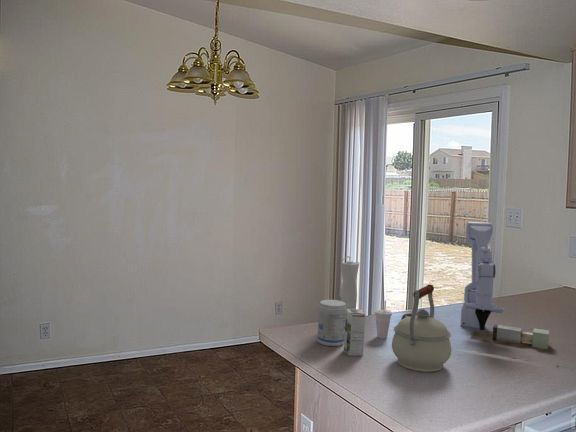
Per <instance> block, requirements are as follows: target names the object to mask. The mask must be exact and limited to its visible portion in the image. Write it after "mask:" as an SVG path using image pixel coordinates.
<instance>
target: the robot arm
mask: <svg viewBox="0 0 576 432" xmlns="http://www.w3.org/2000/svg"><path fill="white" fill-rule="evenodd" d="M465 227H466V228H465V239H466V243H468V244H470V248H471V282H470V283H467V284H466V286H465V287H464V292H463V303H462V307H461V312H460V326H463V327H468V328H474V329H479V330H480V331H485V328H486V324H487V321H488V318H489V317H490V316H491V314H492V313H496V314H501V315H504V314H505V307H501V306H496V305H493V289H494V279H495V278H496V272H497V270H496V264H495V261H493V257H492V256H493V255H492V251H491V250H490V249H489V248H488V246H489V245H488V244H489V243H490V241H491V240H492V239H491V238H492V235H493V228H494V227H493V223H492V222H484V221H481V222H480V221H468V222H466V226H465Z"/></svg>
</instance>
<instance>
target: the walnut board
mask: <svg viewBox="0 0 576 432" xmlns="http://www.w3.org/2000/svg"><path fill="white" fill-rule="evenodd" d="M492 337H493V333H488V332H483V331H482V332H481V331H475V330H474V331H473V333H472V334H471V336H470V337H469V339H470V340H475V341H481V342H482V341H483V342H487V343H488V342H489V343H492V344H493V343H494V344H500V345H506V346H512V347H515V348H517V347H518V348H523V349H528V350H535V351H542V352H546V353H551V352H552V343H550V342H548V349H542V348H537V347H532V343H528V342H522V341H521V343H520V344H515V343H509V342H503V341H497V338H496V339H492Z"/></svg>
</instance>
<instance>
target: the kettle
mask: <svg viewBox="0 0 576 432" xmlns="http://www.w3.org/2000/svg"><path fill="white" fill-rule="evenodd" d="M434 291H435V287H434V285H432V284H427V285H426V286H423V287H421V288H419V289H418V290H415V291H414V292H413V297H414V299H413V300H414V301H413V302H414V303H413V306H412V311H411V313H412V314H411V316H409V317H406V318H403V319H402V320H401V319H400V320H399V321H398V323H397V324H396V326H394V327H393V331H394V334H393V337H392V342H391V350H392V352H393V354H394V355H395V357H396V358H397V363H398V365H400V366H401V367H403V368H405V369H407V370H411V371H415V372H422V373H433V372H435V373H436V372H438V371H440V370H442V369H443V368H444V364H446V362H447V361H448V360H449V359H450V358H451V355H452V345H451V339H450V338H451V336H452V333H451V332H450V331H449V330H448V328H447V326H446V325H445V324H444V323H443V322H442V321H440V320H438V319H437V318H435V303H434V298H433V292H434ZM426 296H427V297H428V303H429V312H428V311H427V310H425V308H422V309H419V306H420V305H419V304H420V299H421V298H424V297H426ZM418 309H419V310H418ZM416 314H417V315H418V316H416ZM428 316H430V317H428ZM434 318H435V319H434Z"/></svg>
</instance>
